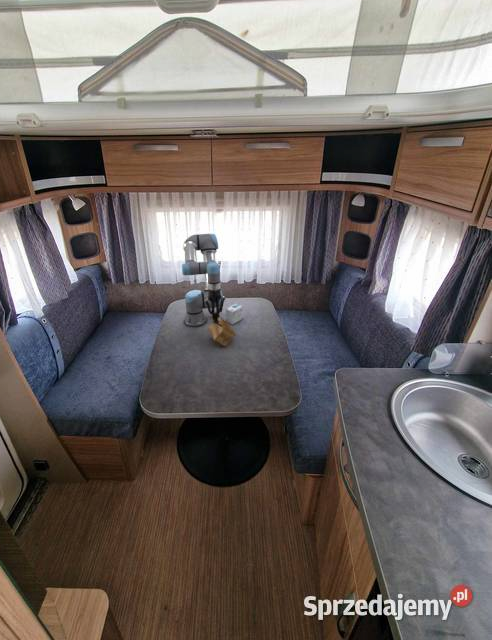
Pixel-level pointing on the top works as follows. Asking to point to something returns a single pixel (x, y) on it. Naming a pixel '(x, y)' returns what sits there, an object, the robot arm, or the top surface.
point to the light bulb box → (234, 313)
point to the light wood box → (221, 331)
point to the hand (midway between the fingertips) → (215, 322)
